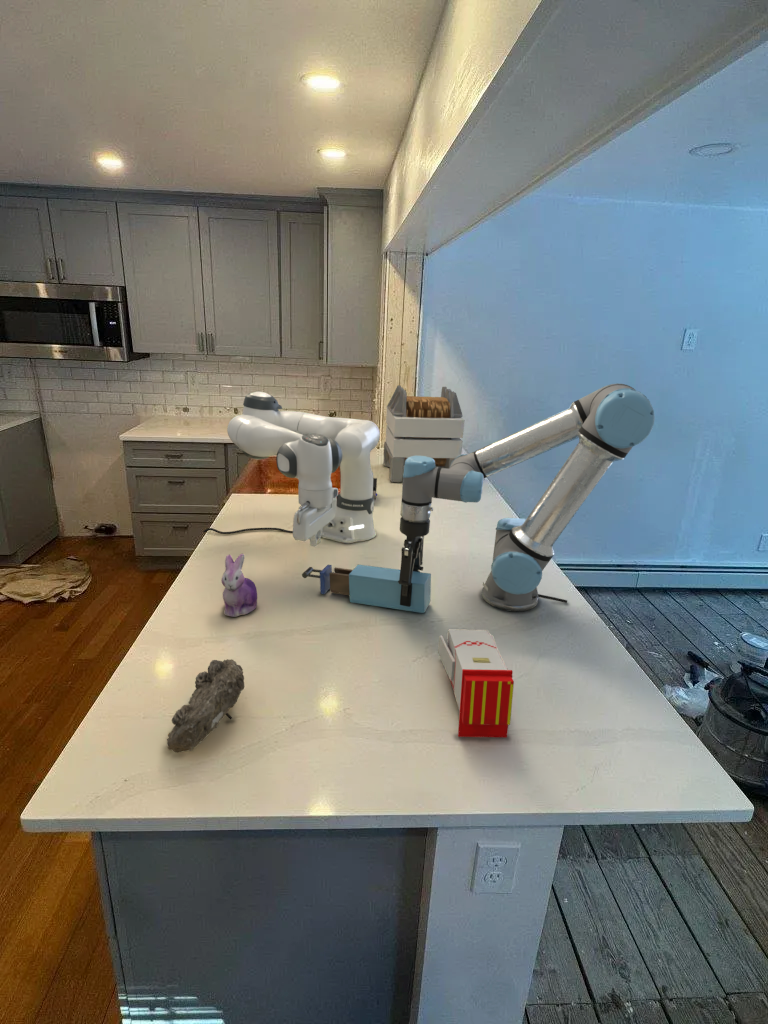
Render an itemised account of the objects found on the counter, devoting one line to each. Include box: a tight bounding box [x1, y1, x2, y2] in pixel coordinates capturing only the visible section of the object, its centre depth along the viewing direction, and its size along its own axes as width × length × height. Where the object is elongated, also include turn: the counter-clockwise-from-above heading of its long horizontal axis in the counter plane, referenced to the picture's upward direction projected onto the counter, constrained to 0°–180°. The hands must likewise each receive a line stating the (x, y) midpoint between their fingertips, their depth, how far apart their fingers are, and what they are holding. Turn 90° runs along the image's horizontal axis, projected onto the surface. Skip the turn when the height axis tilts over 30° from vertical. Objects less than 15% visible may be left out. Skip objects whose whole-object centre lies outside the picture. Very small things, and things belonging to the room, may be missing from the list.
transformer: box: [383, 384, 465, 483], centre depth 268 cm, size 34×33×41 cm
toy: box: [437, 628, 515, 738], centre depth 117 cm, size 12×13×30 cm
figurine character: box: [373, 477, 378, 500], centre depth 233 cm, size 7×8×15 cm
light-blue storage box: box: [349, 564, 432, 614], centre depth 151 cm, size 21×7×8 cm, turn 72°
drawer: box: [301, 564, 353, 596], centre depth 155 cm, size 25×6×6 cm, turn 72°
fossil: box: [166, 658, 245, 754], centre depth 106 cm, size 22×10×15 cm
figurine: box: [220, 553, 258, 618], centre depth 144 cm, size 9×10×15 cm
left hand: (315, 544), depth 154 cm, fingers closed
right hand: (409, 598), depth 150 cm, fingers closed on light-blue storage box, 7 cm apart
